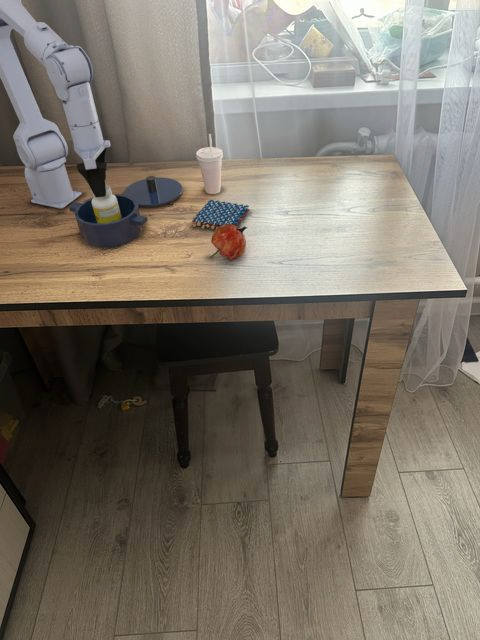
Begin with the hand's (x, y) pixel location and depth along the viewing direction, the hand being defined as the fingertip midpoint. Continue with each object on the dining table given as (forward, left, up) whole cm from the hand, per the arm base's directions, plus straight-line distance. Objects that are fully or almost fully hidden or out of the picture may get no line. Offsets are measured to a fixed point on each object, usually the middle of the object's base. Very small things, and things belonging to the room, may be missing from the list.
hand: (100, 187), depth 106 cm
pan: (0, 0, -10) cm, 10 cm away
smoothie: (+13, +25, -11) cm, 30 cm away
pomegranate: (+29, 0, -11) cm, 31 cm away
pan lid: (0, +18, -10) cm, 21 cm away
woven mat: (+21, +13, -11) cm, 27 cm away
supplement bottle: (0, 0, -10) cm, 10 cm away
